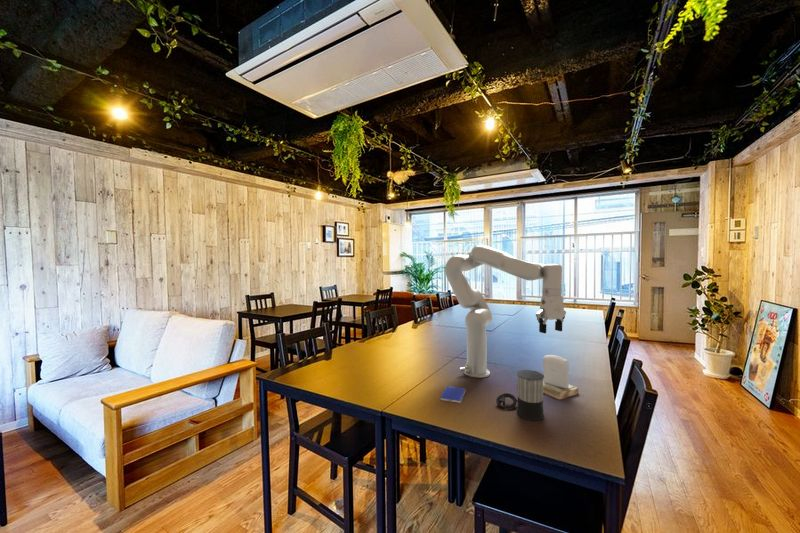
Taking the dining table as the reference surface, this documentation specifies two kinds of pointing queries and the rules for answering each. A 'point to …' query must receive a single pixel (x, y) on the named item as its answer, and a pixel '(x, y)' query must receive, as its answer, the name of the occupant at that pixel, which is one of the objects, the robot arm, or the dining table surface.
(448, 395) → the hard drive
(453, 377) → the dining table surface
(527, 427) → the dining table surface
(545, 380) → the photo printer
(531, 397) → the milk frother
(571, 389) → the pedestal
